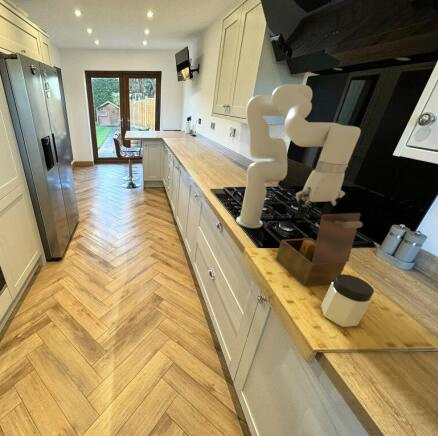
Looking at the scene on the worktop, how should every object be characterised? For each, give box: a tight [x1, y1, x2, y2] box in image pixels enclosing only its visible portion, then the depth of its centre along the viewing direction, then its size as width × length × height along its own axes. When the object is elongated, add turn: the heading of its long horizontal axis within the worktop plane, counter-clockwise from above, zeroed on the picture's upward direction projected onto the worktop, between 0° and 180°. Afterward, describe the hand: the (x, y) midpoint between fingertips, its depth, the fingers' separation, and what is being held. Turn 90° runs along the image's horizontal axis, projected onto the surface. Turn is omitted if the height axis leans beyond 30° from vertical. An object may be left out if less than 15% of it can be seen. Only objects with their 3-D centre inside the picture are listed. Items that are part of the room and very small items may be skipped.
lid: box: [312, 212, 364, 264], centre depth 72 cm, size 16×13×5 cm
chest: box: [275, 237, 347, 287], centre depth 86 cm, size 16×13×9 cm
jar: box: [320, 273, 375, 328], centre depth 66 cm, size 9×8×12 cm
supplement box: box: [299, 240, 316, 261], centre depth 87 cm, size 3×3×10 cm
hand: (312, 215), depth 83 cm, fingers open, 9 cm apart
